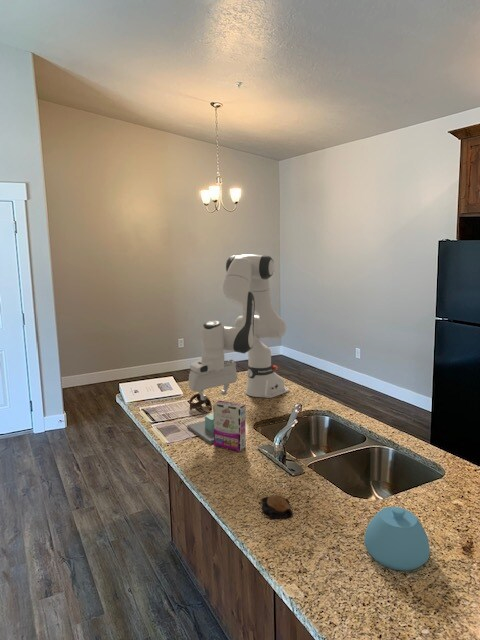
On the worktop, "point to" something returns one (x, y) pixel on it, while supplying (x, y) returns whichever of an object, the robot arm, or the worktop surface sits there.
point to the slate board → (202, 431)
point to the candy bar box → (229, 425)
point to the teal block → (209, 422)
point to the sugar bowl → (397, 539)
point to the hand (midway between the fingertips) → (213, 397)
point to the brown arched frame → (199, 402)
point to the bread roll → (276, 507)
